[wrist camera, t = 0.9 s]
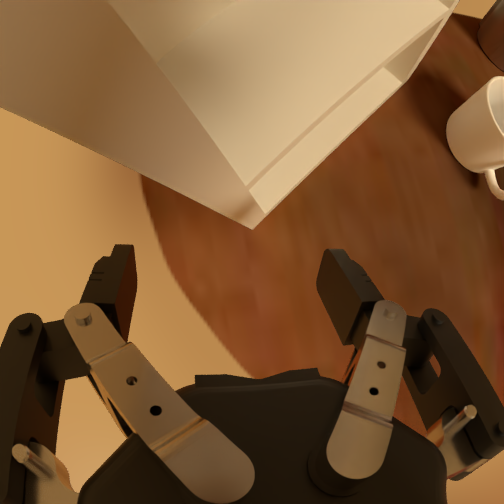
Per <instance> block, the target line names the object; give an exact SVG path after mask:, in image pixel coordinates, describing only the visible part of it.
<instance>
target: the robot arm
mask: <svg viewBox="0 0 504 504" xmlns="http://www.w3.org/2000/svg"><path fill="white" fill-rule="evenodd" d="M479 25H480V29H479V30H478V32H477V38H478V41H479V44H480V46H481V48H482V49H483V51H484V53H485V54H486V55H487V56H488V58H489V59H490V60H491V61H492V62H493V63H494V64H495V65H496V66H497V67H498V68H500V69H501V70H502V71H504V0H497V1H496V2H495V3H494V5H493V6H492V7H491V9H490V10H489V11H488V13H487V14H486V15H485V16H484V18H483V19H482V20H481V22H480V23H479ZM371 281H372V280H371V279H370V278H369V276H367V273H366V272H365V270H364V269H363V268H362V267H361V266H360V265H359V264H358V263H356V262H355V261H354V260H351V259H350V258H349V256H348V255H347V253H346V252H345V251H344V250H343V249H326V250H325V251H324V254H323V258H322V261H321V265H320V269H319V272H318V276H317V281H316V286H317V291H318V293H319V295H320V297H321V300H322V302H323V304H324V306H325V308H326V310H327V312H328V314H329V316H330V318H331V321H332V323H333V325H334V327H335V329H336V331H337V333H338V335H339V338H340V340H341V342H342V344H343V345H352V344H354V346H355V348H354V350H353V352H352V355H351V358H350V360H349V363H348V365H347V368H346V370H345V373H344V375H343V378H342V380H341V382H339V381H337V380H334V379H330V378H326V377H321V376H320V375H319V372H318V369H317V368H310V369H301V370H290V371H286V372H283V373H280V374H277V375H274V376H270V377H267V378H264V379H252V378H245V377H239V376H233V375H227V374H223V375H195V384H192V385H189V386H186V387H183V388H181V389H178V390H177V391H174V390H173V389H172V388H171V386H170V385H169V384H167V382H166V381H165V380H164V379H163V378H162V376H161V375H160V374H159V373H158V372H157V371H156V370H155V368H154V367H153V366H152V365H151V364H150V363H149V361H148V360H147V359H146V358H145V357H144V355H143V354H142V353H141V352H140V351H139V350H138V348H137V347H136V346H135V345H134V344H133V343H132V342H128V343H127V341H128V335H129V328H130V323H131V317H132V312H133V307H134V302H135V297H136V292H137V272H136V262H135V253H134V246H133V245H121V244H120V245H119V244H118V245H117V244H116V245H115V246H114V248H113V251H112V254H111V256H110V257H106V256H103V257H102V258H101V259H100V260H98V261H97V262H96V263H95V265H94V267H93V270H92V274H91V275H90V277H89V281H88V282H87V285H86V287H85V290H84V292H83V295H82V297H81V300H80V303H79V304H77V305H75V306H73V307H71V308H70V309H69V310H68V311H67V313H66V314H65V316H64V319H62V320H58V321H53V322H47V323H43V322H42V320H41V318H40V317H39V316H38V315H36V314H34V313H25V314H22V315H19V316H18V317H16V318H15V319H14V320H13V321H12V322H11V323H10V325H9V327H8V330H7V332H6V334H5V337H4V339H3V342H2V344H1V347H0V504H447V498H446V480H447V479H450V480H454V481H458V480H460V479H463V478H464V477H466V476H467V475H469V474H470V473H472V472H473V471H475V470H476V469H478V468H479V467H480V466H482V465H483V464H485V463H486V462H488V461H489V460H490V459H492V458H493V457H494V456H496V455H497V454H498V453H500V452H501V451H502V450H504V407H503V405H502V403H501V401H500V400H499V398H498V396H497V394H496V393H495V391H494V389H493V387H492V386H491V384H490V382H489V380H488V379H487V377H486V375H485V374H484V372H483V370H482V369H481V367H480V365H479V364H478V362H477V361H476V359H475V357H474V356H473V354H472V353H471V351H470V349H469V348H468V346H467V345H466V343H465V342H464V340H463V339H462V337H461V336H460V334H459V333H458V331H457V330H456V328H455V327H454V325H453V324H452V322H451V321H450V320H449V318H448V317H447V316H446V315H445V314H444V313H443V312H441V311H439V310H437V309H432V308H430V309H426V310H425V311H424V312H423V314H422V316H421V318H420V317H414V316H408V315H406V312H405V311H404V309H403V308H402V307H401V306H400V305H398V304H396V303H395V302H392V301H388V300H385V299H384V298H383V296H382V295H381V293H380V292H379V291H378V289H377V288H376V286H375V285H374V283H373V282H371ZM433 354H434V355H435V357H436V359H437V361H438V362H439V364H440V367H441V374H440V376H439V378H438V376H437V374H436V372H435V371H434V369H433V367H432V365H431V363H430V361H429V360H430V359H431V357H432V356H433ZM83 376H86V377H87V378H88V380H89V382H90V383H91V385H92V386H93V388H94V390H95V391H96V393H97V395H98V396H99V398H100V399H101V401H102V402H103V404H104V405H105V407H106V408H107V410H108V411H109V413H110V414H111V416H112V418H113V419H114V421H115V422H116V424H117V426H118V427H119V429H120V430H121V432H122V433H123V434H124V436H125V437H126V438H127V439H126V440H125V441H124V442H123V443H122V445H121V446H120V447H119V448H118V449H117V450H116V451H115V452H114V453H113V454H112V455H111V456H110V457H109V458H108V459H107V460H106V461H105V462H104V463H103V465H101V467H100V468H99V469H98V470H97V471H96V472H95V473H94V474H93V475H92V476H91V477H90V478H89V479H88V480H87V481H86V482H85V484H84V485H83V487H82V488H81V490H80V493H76V492H75V491H74V490H73V488H72V487H71V484H70V478H69V473H68V471H67V468H66V467H65V465H64V464H63V463H62V462H61V461H60V460H59V459H58V458H57V457H56V456H55V453H56V442H57V432H58V424H59V416H60V409H61V403H62V396H63V390H64V385H65V380H67V379H72V378H78V377H83ZM401 376H403V378H404V380H405V382H406V385H407V387H408V389H409V391H410V393H411V396H412V398H413V400H414V402H415V404H416V407H417V409H418V411H419V414H420V416H421V418H422V421H423V423H424V425H425V428H426V430H427V434H426V438H425V437H423V436H422V435H420V434H419V433H417V432H416V431H414V430H413V429H411V428H409V427H408V426H406V425H405V424H403V423H402V422H400V421H399V420H397V419H396V418H394V417H393V412H394V408H395V403H396V399H397V395H398V390H399V386H400V381H401Z"/></svg>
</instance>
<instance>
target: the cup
mask: <svg viewBox="0 0 504 504" xmlns="http://www.w3.org/2000/svg"><path fill="white" fill-rule="evenodd" d="M446 136H447V141H448V145H449V147H450V150H451V152H452V153H453V155H454V157H455V158H456V159H457V160H458V162H459V163H460V164H461V165H463V166H464V167H465V168H466V169H468V170H470V171H472V172H476V173H485V177H486V180H487V183H488V186H489V188H490V190H491V192H492V193H493V195H494V196H496V197H497V198H498V199H501V200H504V190H501V189H500V188H499V187H498V185H497V182H496V178H495V172H494V170H495V169H498V168H500V167H503V166H504V77H502V76H497V77H494V78H492V79H491V80H490V81H489V82H488V83H486V84H485V85H484V86H483V87H482V88H481V89H480V90H478V91H477V92H476V93H475V94H474V95H473V96H472V97H470V98H469V99H468V100H467V101H466V102H465V103H463V104H462V105H461V106H460V107H459V108H458V109H456V110H455V111H454V112H453V113H452V115H451V116H450V117H449V119H448V122H447V126H446Z"/></svg>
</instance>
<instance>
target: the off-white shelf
mask: <svg viewBox="0 0 504 504" xmlns="http://www.w3.org/2000/svg"><path fill="white" fill-rule="evenodd" d="M459 1H460V0H0V107H1V108H3V109H5V110H7V111H10V112H12V113H14V114H16V115H18V116H21V117H23V118H25V119H27V120H29V121H32V122H34V123H36V124H38V125H40V126H42V127H44V128H47V129H49V130H51V131H53V132H55V133H57V134H59V135H61V136H63V137H66V138H68V139H70V140H72V141H74V142H76V143H78V144H81V145H82V146H85V147H87V148H89V149H91V150H93V151H95V152H97V153H99V154H101V155H103V156H105V157H107V158H110V159H112V160H114V161H116V162H118V163H120V164H122V165H124V166H126V167H128V168H130V169H132V170H134V171H136V172H138V173H140V174H142V175H144V176H146V177H148V178H150V179H153V180H155V181H157V182H159V183H161V184H163V185H165V186H167V187H169V188H171V189H173V190H175V191H177V192H179V193H181V194H183V195H185V196H187V197H189V198H191V199H193V200H195V201H197V202H199V203H201V204H203V205H205V206H207V207H209V208H211V209H213V210H215V211H216V212H218V213H220V214H222V215H224V216H226V217H228V218H230V219H232V220H234V221H236V222H238V223H240V224H242V225H244V226H246V227H248V228H250V229H252V230H253V229H254V228H255V227H256V226H257V225H258V224H259V223H260V222H261V221H262V220H263V219H264V218H265V217H266V216H267V215H268V214H269V213H270V212H271V211H272V210H273V209H274V208H275V207H276V206H277V205H278V204H279V203H280V202H281V201H282V200H283V199H284V198H285V197H286V196H287V195H288V194H289V193H290V192H291V191H292V190H293V189H294V188H295V187H296V186H297V185H299V184H300V183H301V182H302V181H303V180H304V179H305V178H306V177H307V176H308V175H309V174H310V173H311V172H312V171H313V170H314V169H315V168H316V167H317V166H318V165H319V164H320V163H321V162H322V161H323V160H324V159H325V158H326V157H327V156H329V155H330V154H331V153H332V152H333V151H334V150H335V149H336V148H337V147H338V146H339V145H340V144H341V143H342V142H343V141H344V140H345V139H346V138H347V137H348V136H349V135H350V134H351V133H353V132H354V131H355V130H356V129H357V128H358V127H359V126H360V125H361V124H362V123H363V122H364V121H365V120H366V119H367V118H368V117H369V116H370V115H371V114H373V113H374V112H375V111H376V110H377V109H378V108H379V107H380V106H381V105H382V104H383V103H384V102H385V101H386V100H387V99H388V98H390V97H391V96H392V95H393V94H394V93H395V92H396V91H397V90H398V89H399V88H400V87H401V86H402V85H403V84H404V83H406V82H407V81H408V79H409V78H410V76H411V75H412V73H413V72H414V70H415V69H416V67H417V66H418V64H419V63H420V61H421V60H422V58H423V57H424V55H425V54H426V52H427V51H428V49H429V48H430V46H431V44H432V43H433V41H434V40H435V38H436V37H437V35H438V34H439V32H440V31H441V29H442V27H443V26H444V24H445V23H446V21H447V20H448V18H449V17H450V15H451V13H452V12H453V10H454V9H455V7H456V5H457V4H458V2H459Z"/></svg>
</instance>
